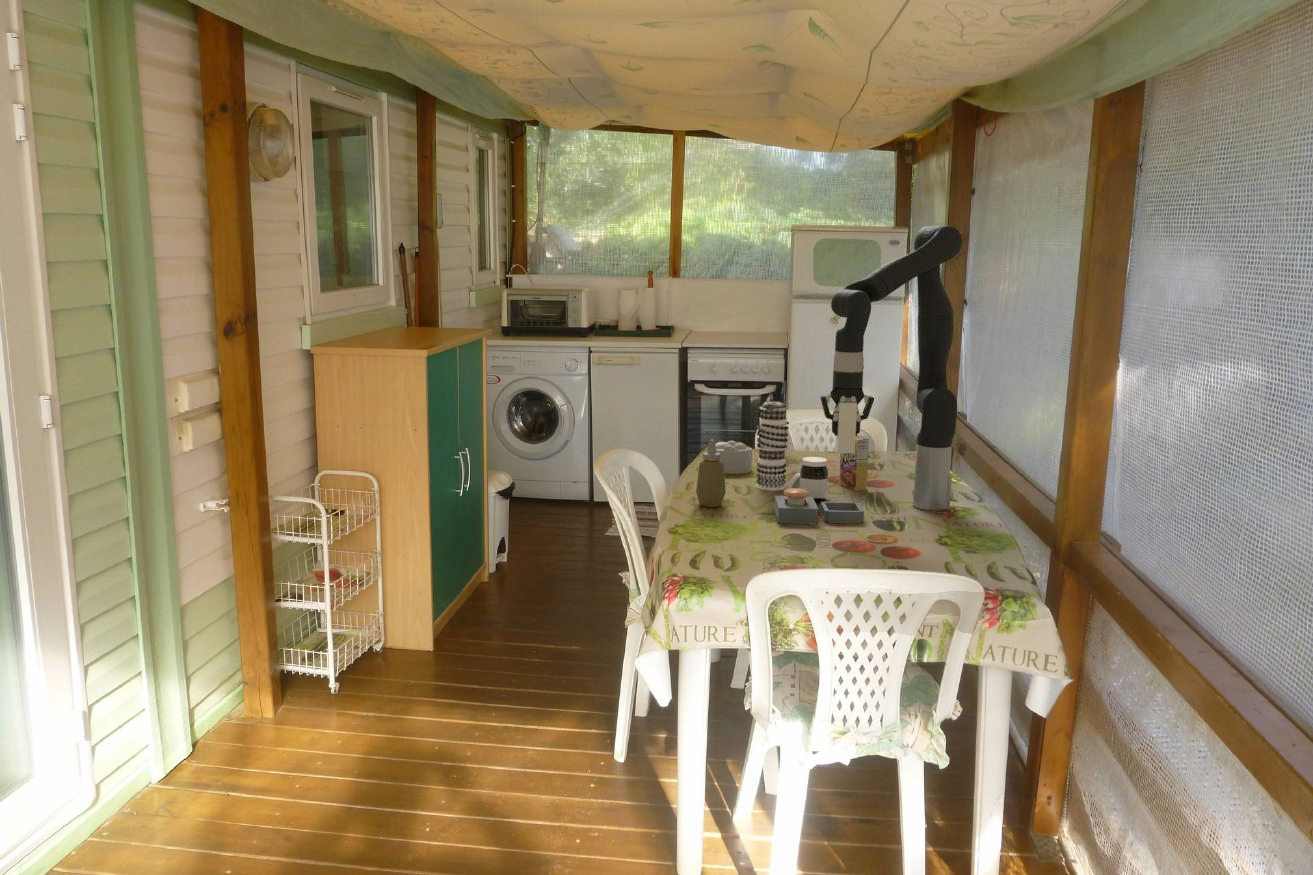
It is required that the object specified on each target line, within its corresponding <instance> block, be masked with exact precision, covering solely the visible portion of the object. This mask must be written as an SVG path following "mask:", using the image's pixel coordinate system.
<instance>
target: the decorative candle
mask: <svg viewBox="0 0 1313 875" xmlns="http://www.w3.org/2000/svg"><path fill="white" fill-rule="evenodd" d="M759 410H760V412H759V414H760V415H759V424H758V425H757V426H756V427H757V429H756V430H757V432H756V435H757V436H758V438H757V449H758V461H757V463H756V466H757V468H756V472H758V473H756V482H755V483H757V484H756V488H757V489H759V490H763V491H770V492H771V491H772V492H773V491H784V490H786V484H787V481H786V478H787V476H786V474H785V473H786V472H787V469H786V468H787V464H786V456H785V455H786V450H787V449H788V446H787V445H786V444H785V443H786V442H788V441H789V438H787V437H788V436H789V433H787V432H786V430H789V429H790V428H789V426H788V425H789V424H790V423H789V421H787V420H788V419H787V410H788V407H787V406H786V405H785V404H784V403H783V402H781V401H766V402H763V403H762V405H761V406H759Z"/></svg>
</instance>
